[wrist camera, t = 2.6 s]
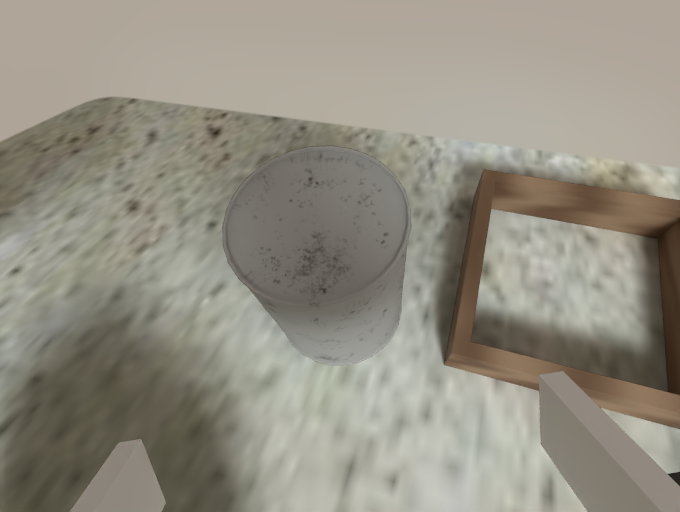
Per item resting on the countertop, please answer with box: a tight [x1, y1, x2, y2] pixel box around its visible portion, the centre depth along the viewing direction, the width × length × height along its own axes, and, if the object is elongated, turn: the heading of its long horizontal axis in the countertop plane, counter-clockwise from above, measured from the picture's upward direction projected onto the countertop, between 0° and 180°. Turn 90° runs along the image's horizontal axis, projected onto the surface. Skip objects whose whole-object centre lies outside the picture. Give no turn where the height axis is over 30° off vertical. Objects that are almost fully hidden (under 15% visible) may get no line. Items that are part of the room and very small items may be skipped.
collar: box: [444, 170, 680, 429], centre depth 27 cm, size 15×15×4 cm
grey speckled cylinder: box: [222, 146, 411, 365], centre depth 25 cm, size 10×10×12 cm
